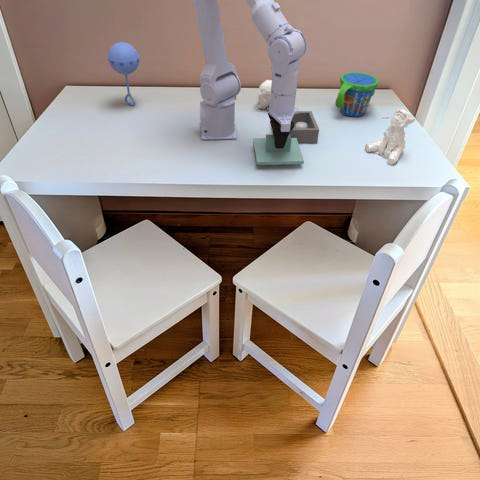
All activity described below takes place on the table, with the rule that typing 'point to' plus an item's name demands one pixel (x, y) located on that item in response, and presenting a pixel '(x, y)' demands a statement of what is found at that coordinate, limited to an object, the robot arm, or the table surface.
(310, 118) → the storage box
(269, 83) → the white lumpy piece
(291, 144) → the lid
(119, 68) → the baby rattle
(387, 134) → the sitting furry creature
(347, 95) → the snack cup
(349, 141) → the table surface
